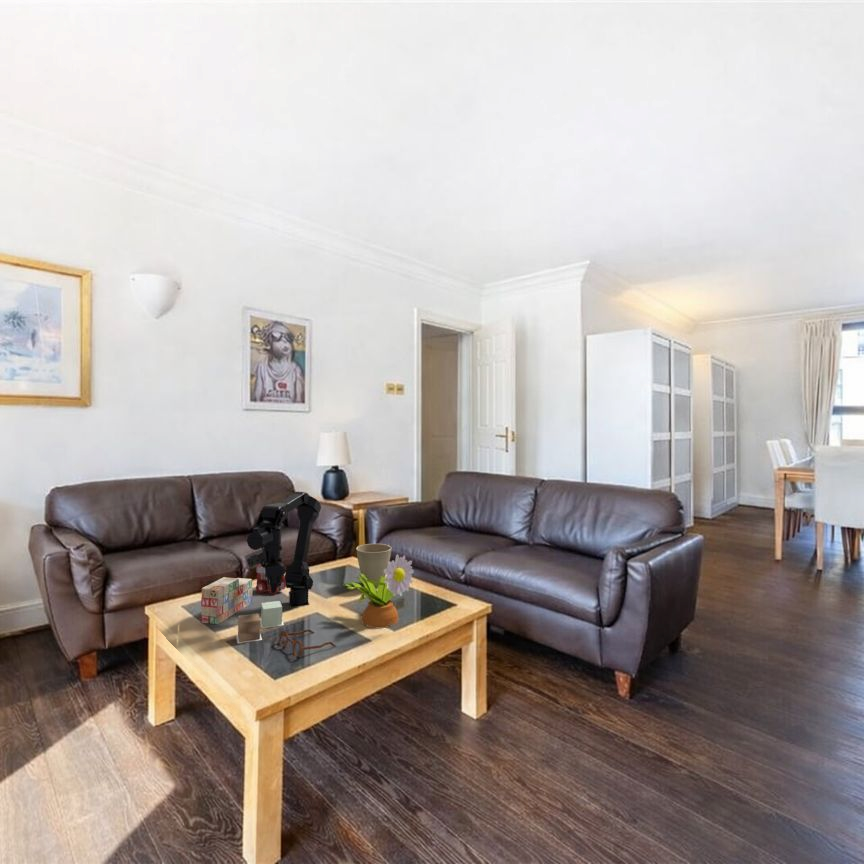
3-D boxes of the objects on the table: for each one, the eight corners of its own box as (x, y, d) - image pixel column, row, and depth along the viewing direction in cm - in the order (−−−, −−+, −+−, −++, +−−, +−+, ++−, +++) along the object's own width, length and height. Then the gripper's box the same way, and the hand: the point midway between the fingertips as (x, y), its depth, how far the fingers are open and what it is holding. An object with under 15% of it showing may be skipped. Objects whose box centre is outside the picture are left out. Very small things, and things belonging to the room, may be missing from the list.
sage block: (279, 617, 171) (279, 600, 171) (281, 624, 166) (282, 606, 166) (261, 620, 169) (261, 603, 169) (263, 627, 163) (263, 609, 163)
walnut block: (257, 631, 160) (258, 613, 160) (259, 639, 154) (260, 620, 154) (237, 634, 157) (238, 615, 157) (239, 642, 152) (239, 623, 152)
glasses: (277, 646, 152) (278, 630, 152) (314, 634, 161) (315, 619, 161) (299, 661, 143) (299, 644, 143) (337, 648, 152) (338, 632, 152)
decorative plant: (373, 640, 157) (376, 562, 156) (328, 618, 173) (330, 547, 173) (431, 617, 176) (433, 548, 176) (385, 600, 193) (387, 536, 192)
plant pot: (376, 577, 221) (377, 541, 220) (397, 586, 210) (398, 548, 209) (348, 583, 211) (349, 546, 210) (368, 593, 200) (369, 554, 199)
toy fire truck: (281, 595, 194) (281, 569, 194) (251, 593, 196) (252, 567, 196) (288, 589, 201) (289, 564, 201) (260, 587, 203) (260, 562, 203)
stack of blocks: (237, 601, 187) (238, 569, 186) (252, 603, 185) (253, 571, 185) (200, 624, 166) (201, 587, 165) (217, 626, 164) (218, 589, 164)
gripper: (245, 538, 172) (244, 582, 172) (249, 551, 155) (248, 600, 155) (278, 536, 177) (277, 579, 177) (285, 548, 160) (284, 596, 160)
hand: (271, 588), depth 167 cm, fingers open, 9 cm apart
